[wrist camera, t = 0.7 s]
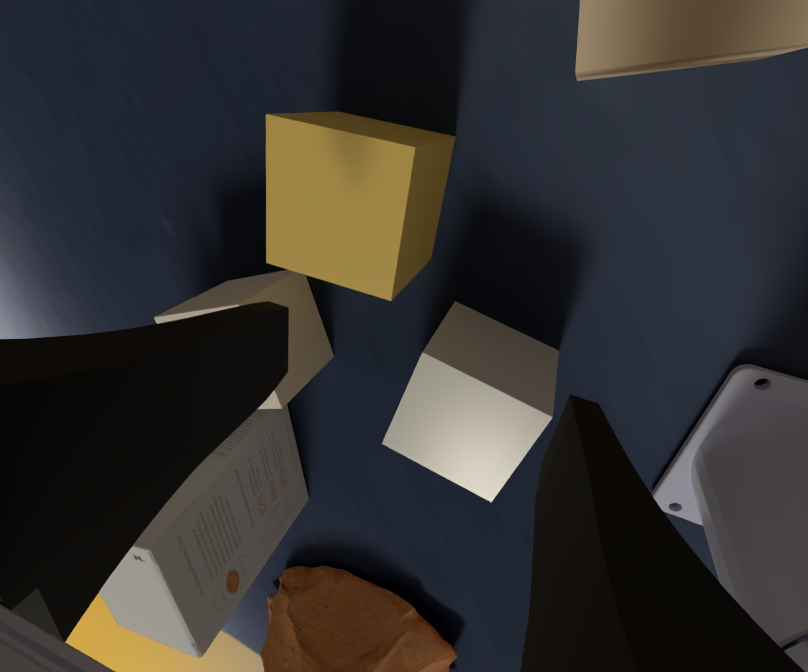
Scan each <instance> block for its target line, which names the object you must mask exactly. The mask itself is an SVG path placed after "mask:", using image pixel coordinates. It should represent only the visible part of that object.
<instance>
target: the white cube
mask: <svg viewBox="0 0 808 672" xmlns="http://www.w3.org/2000/svg"><path fill="white" fill-rule="evenodd" d="M266 301H270V302H273V303H276V304H280V305H283V306H286V307H289V341H288V373H287V374H286V375H285V377H284V378H283V379H282V381H281V382H280V383H279V385H278V386H277V387H276V389H275V390H274V391H273V392H272V394H271V395H270V396H269V397H268V399H267V400H266V401H265V402H264V403H263V404H262V405H261V406H260V407H259V408H258V409H282V408H283V407H284V406H285V405H286V404H287V403H288V402H289V401H290V400H291V399H292V398H293V397H294V396H295V395H296V394H297V393H298V392H299V391H300V390H301V389H302V388H303V387H304V386H305V385H306V384H307V383H308V382H309V381H310V380H311V379H312V378H313V377H314V376H315V375H316V374H317V373H318V372H319V371H320V370H321V369H322V368H323V367H324V366H325V365H326V364H327V363H328V362H329V361H330V360H331V359H332V358H333V356H334V355H333V352H332V349H331V346H330V343H329V340H328V337H327V335H326V332H325V329H324V326H323V323H322V320H321V318H320V315H319V312H318V309H317V306H316V303H315V301H314V298H313V295H312V292H311V289H310V286H309V283H308V281H307V278H306V275H305V274H301V273H298V272H295V271H291V270H284V271H278V272H273V273H267V274H262V275H257V276H251V277H246V278H240V279H235V280H229V281H226V282H224V283H222V284H220V285H218V286H216V287H214V288H212V289H210V290H208V291H206V292H204V293H202V294H200V295H198V296H196V297H194V298H192V299H190V300H188V301H186V302H184V303H182V304H180V305H178V306H176V307H174V308H172V309H170V310H168V311H166V312H164V313H162V314H160V315H158V316H156V317H154V319H155V321H156V323H157V324H159V323H164V322H169V321H174V320H179V319H184V318H189V317H193V316H197V315H202V314H206V313H211V312H215V311H219V310H224V309H228V308H233V307H237V306H242V305H247V304H252V303H258V302H266Z"/></svg>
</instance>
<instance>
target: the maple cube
mask: <svg viewBox="0 0 808 672" xmlns="http://www.w3.org/2000/svg"><path fill="white" fill-rule="evenodd" d="M807 47H808V0H580V12H579V27H578V42H577V57H576V72H575V73H576V78H577V81H581V80H590V79H598V78H607V77H615V76H624V75H633V74H641V73H650V72H658V71H667V70H676V69H684V68H693V67H701V66H710V65H718V64H727V63H736V62H744V61H753V60H759V59H763V58H767V57H771V56H775V55H779V54H783V53H787V52H791V51H795V50H799V49H803V48H807Z"/></svg>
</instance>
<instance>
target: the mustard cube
mask: <svg viewBox="0 0 808 672" xmlns="http://www.w3.org/2000/svg"><path fill="white" fill-rule="evenodd" d="M454 141H455V136H451V135H446V134H441V133H437V132H432V131H427V130H422V129H418V128H413V127H408V126H404V125H399V124H394V123H389V122H385V121H380V120H375V119H371V118H366V117H361V116H357V115H352V114H347V113H342V112H311V113H283V114H266V263H269V264H272V265H275V266H278V267H282V268H285V269H288V270H291V271H295V272H298V273H301V274H305V275H308V276H311V277H314V278H318V279H321V280H324V281H328V282H331V283H334V284H337V285H341V286H344V287H347V288H351V289H354V290H357V291H360V292H364V293H367V294H370V295H374V296H377V297H380V298H383V299H387V300H390V301H391V300H392V299H393V298H394V297H395V296H396V295H397V294H398V293H399V292H400V291H401V290H402V289H403V288H404V287H405V286H406V285H407V284H408V283H409V282H410V281H411V279H412V278H413V277H414V276H415V275H416V274H417V273H418V272H419V271H420V270H421V269H422V268H423V267H424V266H425V265H426V264H427V263H428V262H429V261H430V260H431V257H432V252H433V247H434V241H435V236H436V231H437V226H438V221H439V216H440V211H441V206H442V201H443V196H444V191H445V186H446V181H447V176H448V171H449V166H450V161H451V156H452V151H453V146H454Z"/></svg>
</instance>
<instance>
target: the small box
mask: <svg viewBox="0 0 808 672" xmlns="http://www.w3.org/2000/svg"><path fill="white" fill-rule="evenodd" d="M308 499H309V496H308V492H307V488H306V484H305V479H304V475H303V471H302V466H301V462H300V458H299V453H298V449H297V445H296V440H295V436H294V432H293V428H292V424H291V420H290V415H289V411H288V406H287V404H286V405H285V406H284V407H283V408H282V409H257V410H256V411H255V412H254V413H253V414H252V415H251V416H250V417H249V418H248V419H247V420H245V421H244V422H243V423H242V424H241V425H240V426H239V427H238V428H237V429H236V430H235V431H234V432H233V433H232V434H231V435H230V436H229V437H228V438H227V439H226V440H224V441H223V442H222V443H221V444H220V445H219V446H218V447H217V448H216V449H215V450H214V451H213V452H212V453H211V454H210V455H209V456H208V457H207V458H206V459H205V460H204V461H203V462H202V463H201V464H200V465H199V466H198V467H197V468H196V469H195V470H194V471H193V472H192V473H191V475H190V476H189V477H188V478H187V479H186V480H185V482H184V483H183V484H182V485H181V486H180V488H179V489H178V490H177V491H176V492H175V493H174V495H173V496H172V497H171V498H170V499H169V500H168V502H167V503H166V504H165V505H164V507H163V508H162V509H161V510H160V512H159V513H158V514H157V515H156V517H155V518H154V519H153V520H152V522H151V523H150V524H149V525H148V527H147V528H146V529H145V530H144V532H143V533H142V534H141V535H140V537H139V538H138V539H137V541H136V542H135V543H134V545H133V546H132V547H131V549H130V550H129V551H128V553H127V554H126V555H125V557H124V558H123V559H122V561H121V562H120V563H119V565H118V566H117V568H116V569H115V570H114V572H113V573H112V574H111V576H110V577H109V578H108V580H107V581H106V583H105V584H104V585H103V587H102V588H101V590H100V591H99V593H100V594H101V596H102V598H103V600H104V601H105V603H106V605H107V606H108V608H109V610H110V611H111V613H112V615H113V616H114V618H115V620H116V622H117V623H118V624H119V625H120V626H122V627H124V628H126V629H129V630H131V631H133V632H136V633H138V634H141V635H143V636H146V637H148V638H150V639H153V640H155V641H158V642H160V643H162V644H165V645H167V646H169V647H172V648H174V649H177V650H179V651H181V652H184V653H186V654H189V655H191V656H194V657H196V658H200V657H202V656H203V655H204V653H205V652H206V651H207V649H208V648H209V646H210V645H211V643H212V641H213V640H214V639H215V637H216V636H217V634H218V633H219V631H220V630H221V629H222V627H223V626H224V624H225V623H226V621H227V620H228V618H229V617H230V615H231V614H232V612H233V611H234V609H235V608H236V606H237V605H238V603H239V602H240V600H241V599H242V597H243V596H244V594H245V593H246V591H247V590H248V589H249V587H250V586H251V584H252V582H253V581H254V580H255V578H256V577H257V575H258V574H259V572H260V571H261V569H262V568H263V566H264V565H265V563H266V562H267V560H268V559H269V557H270V556H271V554H272V553H273V551H274V550H275V548H276V547H277V545H278V544H279V542H280V541H281V539H282V538H283V536H284V535H285V534H286V532H287V531H288V529H289V528H290V526H291V525H292V523H293V522H294V520H295V519H296V517H297V516H298V514H299V513H300V511H301V510H302V508H303V507H304V505H305V504H306V502H307V501H308Z"/></svg>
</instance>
